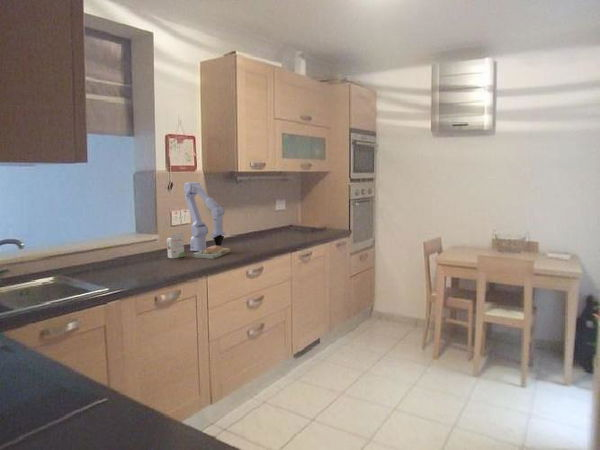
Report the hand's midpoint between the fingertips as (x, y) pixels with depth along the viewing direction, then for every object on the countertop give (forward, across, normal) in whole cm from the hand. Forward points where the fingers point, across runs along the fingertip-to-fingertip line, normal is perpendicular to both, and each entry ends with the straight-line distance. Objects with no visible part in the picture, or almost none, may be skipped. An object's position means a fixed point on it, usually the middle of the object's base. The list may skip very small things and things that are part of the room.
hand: (218, 247), depth 279 cm
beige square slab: (+3, -3, 0) cm, 4 cm away
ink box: (+3, -21, +17) cm, 27 cm away
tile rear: (+1, -4, 0) cm, 4 cm away
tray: (+3, -14, 0) cm, 14 cm away
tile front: (+1, -8, 0) cm, 9 cm away
